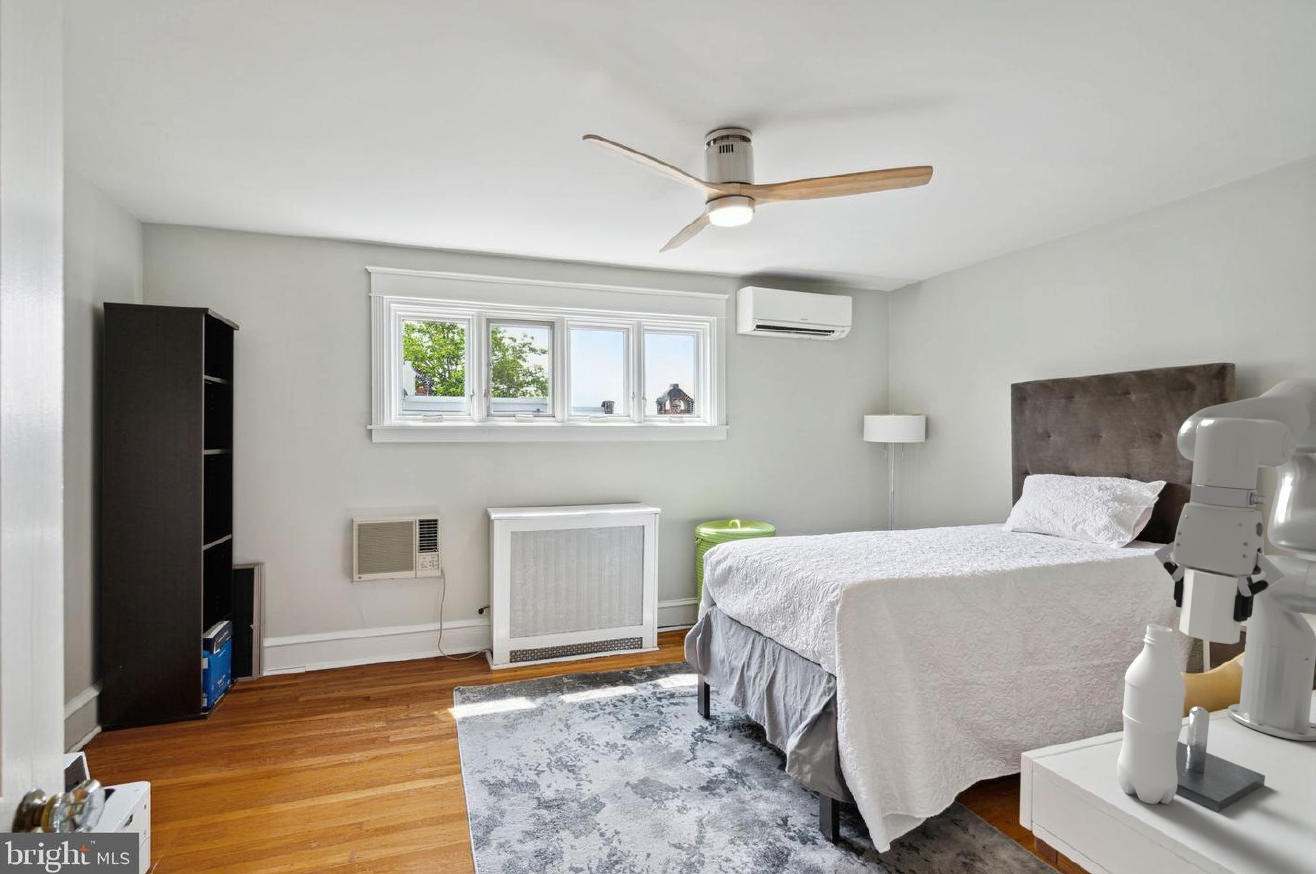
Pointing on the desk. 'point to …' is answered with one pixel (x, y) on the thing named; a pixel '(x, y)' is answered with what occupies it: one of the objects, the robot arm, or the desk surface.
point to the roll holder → (1210, 769)
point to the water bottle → (1152, 720)
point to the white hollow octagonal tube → (1209, 606)
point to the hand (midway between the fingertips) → (1210, 612)
